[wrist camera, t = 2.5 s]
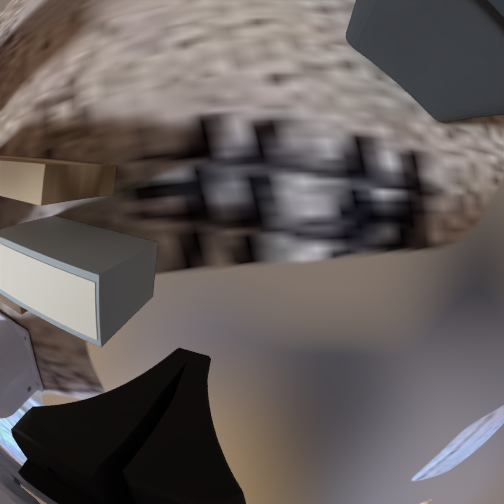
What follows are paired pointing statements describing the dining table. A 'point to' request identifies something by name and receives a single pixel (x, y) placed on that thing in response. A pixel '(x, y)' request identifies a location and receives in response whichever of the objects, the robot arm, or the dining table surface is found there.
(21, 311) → the walnut block
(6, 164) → the shelf wall
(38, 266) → the boxed book
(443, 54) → the storage bin
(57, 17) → the dining table surface
